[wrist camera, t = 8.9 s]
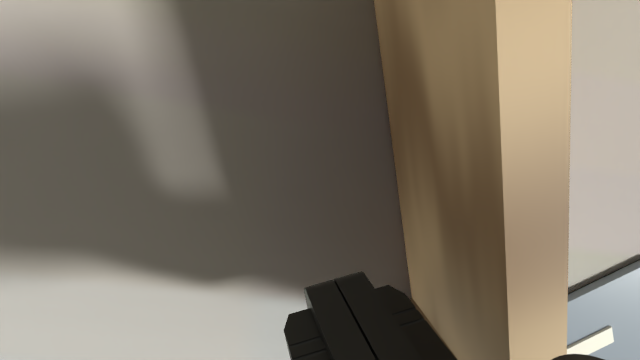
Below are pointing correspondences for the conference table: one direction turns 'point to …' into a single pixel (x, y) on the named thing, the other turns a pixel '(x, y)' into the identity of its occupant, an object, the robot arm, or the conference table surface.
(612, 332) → the card
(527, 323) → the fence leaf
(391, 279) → the conference table surface
